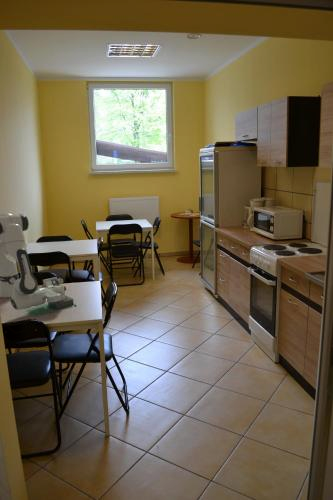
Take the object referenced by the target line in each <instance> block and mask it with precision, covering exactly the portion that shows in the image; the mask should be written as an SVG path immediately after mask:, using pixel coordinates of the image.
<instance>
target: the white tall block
mask: <svg viewBox="0 0 333 500" xmlns="http://www.w3.org/2000/svg"><path fill="white" fill-rule="evenodd" d="M64 286H65V285H63V284H60V285H59V282H58V279H57V286H54V290H55V292H56V293H60V292H64V295H62V296H61V300H60V301H63V300H65V295H66V293H65V291H66V290H64ZM57 302H59V301H57Z"/></svg>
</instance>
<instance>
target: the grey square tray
mask: <svg viewBox="0 0 333 500" xmlns="http://www.w3.org/2000/svg"><path fill="white" fill-rule="evenodd" d="M47 304H48V305H50V306H51V307H53V308H55V309H60V308H63V307H67V306H70V305H74V304H75V303H74V299H73V297H72V298H71V297H70V296H68V295H66V294H65V300H63V301H59V302H57V301H56V302H47ZM67 308H68V307H67Z"/></svg>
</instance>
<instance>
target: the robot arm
mask: <svg viewBox="0 0 333 500" xmlns="http://www.w3.org/2000/svg"><path fill="white" fill-rule="evenodd" d="M29 225H30V222H29V218H28V217H27V216H26V215H25V214H22V213H21V214H20V213H19V214H12V213H10V212H3V213H0V298H10V304H11V306H12V307H13V309H15V310H17V311H20V310H28V309H31V308H33V307H39V306H42V305H45V303H46V302H47V303H48V302H56V301H60V300H61V296H62V295H64V292H60V293H56V292H55V290H50V289H48V288H42V287H41V288H38V287H39V286H38V285H39V284H38V281H37V279H36V277H35V275H34V273H33V269H32V266H31V262H30V258H29V255H28V249H27V243H26V238H25V234H24V231H28V229H29ZM6 256H10V257H11V258H10V259H9V258H7V257H6ZM12 258H13V259H14V260H13V259H12ZM17 266H18V268H17ZM18 269H19V273H20V275H19V273H18ZM19 276H20V277H19Z"/></svg>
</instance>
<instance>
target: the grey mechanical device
mask: <svg viewBox="0 0 333 500" xmlns="http://www.w3.org/2000/svg"><path fill="white" fill-rule="evenodd" d="M57 280H58V282H59V285H61V284H62V283H64V279H63V278H58V277H57V276H56V277H55V276H54V277H51V278H46V279H42V282H43V285H42V287H41V288H48V289H50V290H54V286H57ZM63 286H64V291H66V290H67V287H66V286H65V285H63Z"/></svg>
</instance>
